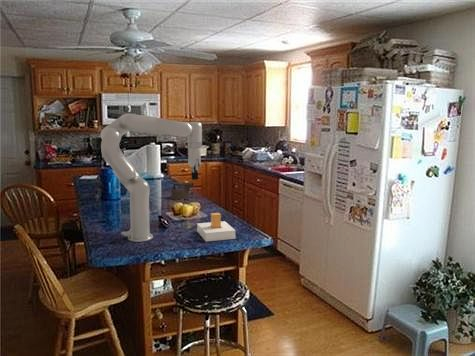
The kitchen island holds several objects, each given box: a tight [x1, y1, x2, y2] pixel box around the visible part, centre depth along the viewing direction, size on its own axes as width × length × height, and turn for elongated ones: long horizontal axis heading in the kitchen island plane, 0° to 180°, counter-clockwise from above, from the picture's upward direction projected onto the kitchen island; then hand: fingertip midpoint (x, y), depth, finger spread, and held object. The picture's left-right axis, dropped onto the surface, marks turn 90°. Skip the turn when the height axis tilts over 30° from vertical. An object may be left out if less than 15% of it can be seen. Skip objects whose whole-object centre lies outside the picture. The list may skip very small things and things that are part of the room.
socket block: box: [196, 220, 236, 243], centre depth 215 cm, size 16×18×4 cm
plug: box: [210, 212, 222, 229], centre depth 214 cm, size 4×4×10 cm
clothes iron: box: [171, 181, 195, 201], centre depth 297 cm, size 8×16×13 cm, turn 72°
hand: (194, 179), depth 216 cm, fingers closed
